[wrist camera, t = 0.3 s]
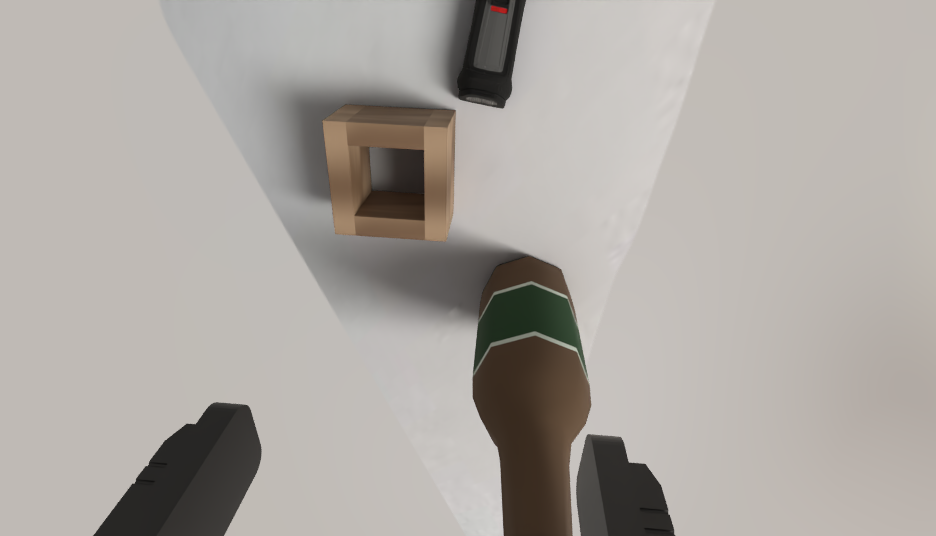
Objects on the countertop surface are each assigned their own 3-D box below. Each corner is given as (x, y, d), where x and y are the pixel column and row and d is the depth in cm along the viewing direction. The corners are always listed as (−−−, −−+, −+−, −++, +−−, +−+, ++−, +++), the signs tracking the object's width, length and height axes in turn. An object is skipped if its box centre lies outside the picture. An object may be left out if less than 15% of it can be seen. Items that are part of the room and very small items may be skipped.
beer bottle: (531, 235, 39) (552, 513, 18) (590, 295, 41) (669, 602, 21) (463, 289, 42) (415, 579, 21) (522, 342, 44) (531, 649, 24)
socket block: (345, 104, 35) (322, 120, 31) (455, 110, 34) (447, 127, 30) (354, 206, 39) (335, 234, 35) (453, 213, 39) (446, 241, 34)
